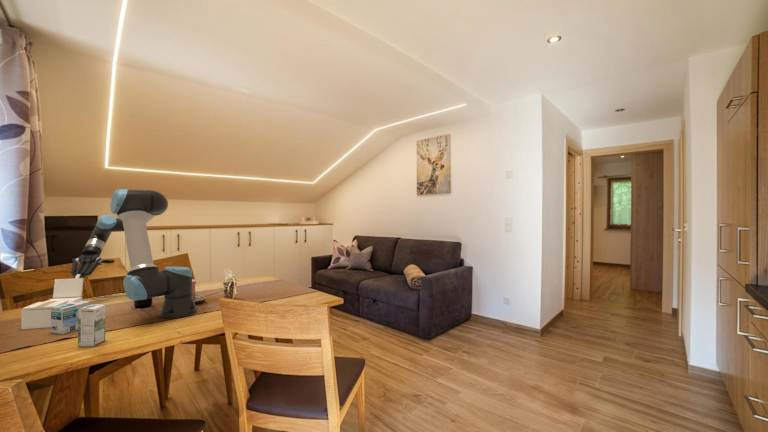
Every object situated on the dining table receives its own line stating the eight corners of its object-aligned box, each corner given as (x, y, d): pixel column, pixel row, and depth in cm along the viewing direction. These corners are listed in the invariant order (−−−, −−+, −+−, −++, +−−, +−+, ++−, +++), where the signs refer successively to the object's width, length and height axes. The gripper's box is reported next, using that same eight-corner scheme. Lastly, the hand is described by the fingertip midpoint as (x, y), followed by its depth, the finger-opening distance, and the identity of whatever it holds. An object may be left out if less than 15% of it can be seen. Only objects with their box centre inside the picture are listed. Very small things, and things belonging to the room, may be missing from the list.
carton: (51, 315, 154) (51, 296, 154) (82, 313, 158) (82, 294, 157) (21, 329, 137) (21, 307, 137) (56, 326, 140) (56, 305, 140)
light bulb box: (62, 334, 133) (62, 308, 132) (50, 333, 134) (49, 307, 134) (91, 325, 143) (90, 301, 143) (79, 324, 144) (78, 300, 144)
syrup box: (90, 340, 127) (89, 304, 127) (106, 340, 128) (105, 304, 127) (77, 346, 122) (77, 308, 121) (94, 346, 122) (94, 308, 122)
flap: (52, 297, 154) (54, 297, 155) (80, 296, 157) (82, 296, 158) (54, 279, 156) (56, 279, 156) (82, 278, 159) (83, 278, 159)
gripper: (110, 252, 181) (93, 290, 165) (82, 253, 177) (61, 291, 162) (105, 244, 176) (86, 282, 160) (75, 244, 172) (54, 283, 157)
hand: (74, 286), depth 161 cm, fingers closed
